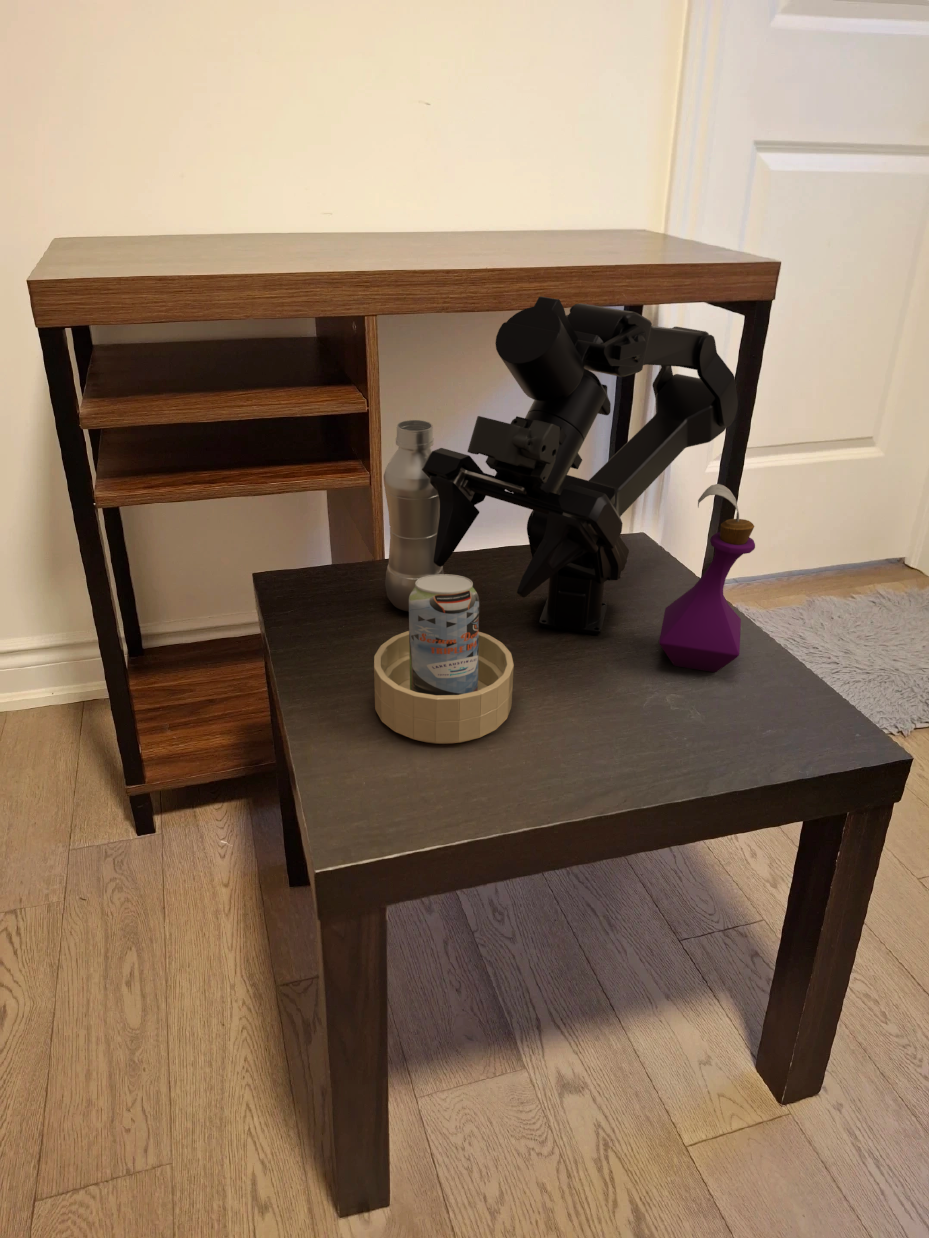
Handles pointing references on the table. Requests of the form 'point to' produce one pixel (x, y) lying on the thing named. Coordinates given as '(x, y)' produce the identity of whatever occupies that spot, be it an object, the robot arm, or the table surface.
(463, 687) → the beverage can
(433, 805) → the table surface
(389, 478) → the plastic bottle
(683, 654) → the purple corked potion flask
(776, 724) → the table surface
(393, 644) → the bowl
